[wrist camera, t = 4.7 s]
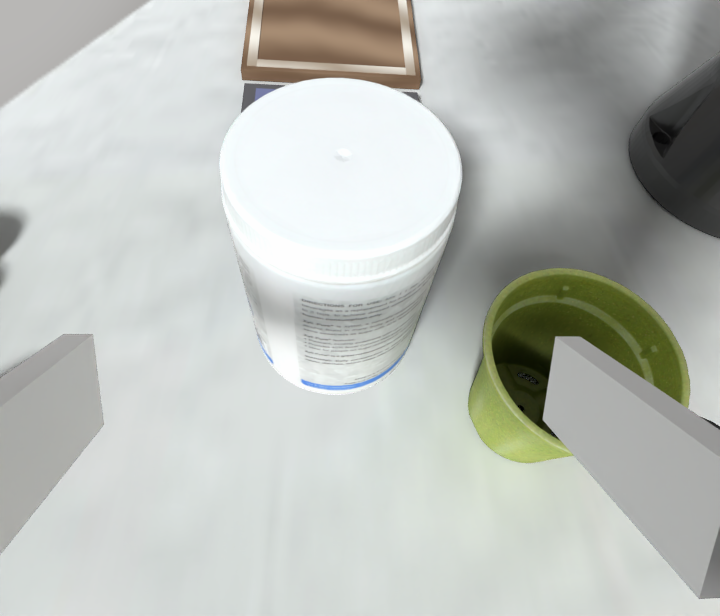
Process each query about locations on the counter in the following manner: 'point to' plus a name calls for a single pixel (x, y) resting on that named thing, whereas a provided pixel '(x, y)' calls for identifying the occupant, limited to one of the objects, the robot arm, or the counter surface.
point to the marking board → (331, 41)
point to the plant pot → (535, 349)
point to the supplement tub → (338, 224)
